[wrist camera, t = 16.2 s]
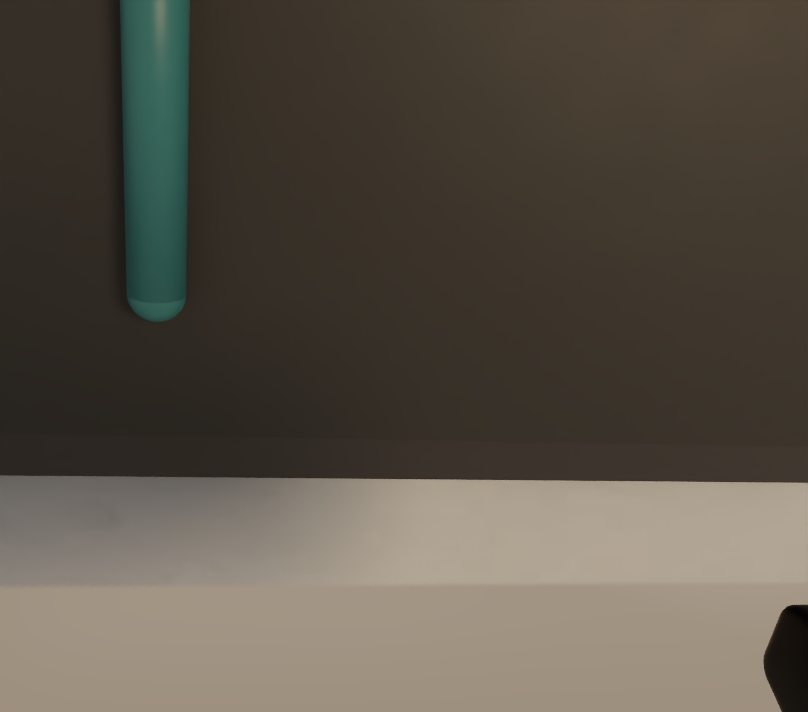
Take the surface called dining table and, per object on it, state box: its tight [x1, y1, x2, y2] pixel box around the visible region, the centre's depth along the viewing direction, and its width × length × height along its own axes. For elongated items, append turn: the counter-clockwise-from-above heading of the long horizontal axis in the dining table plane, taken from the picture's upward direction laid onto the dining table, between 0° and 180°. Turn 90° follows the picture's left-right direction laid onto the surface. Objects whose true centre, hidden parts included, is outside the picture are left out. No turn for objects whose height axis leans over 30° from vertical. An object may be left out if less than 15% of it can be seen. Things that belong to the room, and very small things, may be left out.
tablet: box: [0, 0, 808, 483], centre depth 18 cm, size 28×20×1 cm
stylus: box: [120, 0, 190, 322], centre depth 15 cm, size 1×1×13 cm
